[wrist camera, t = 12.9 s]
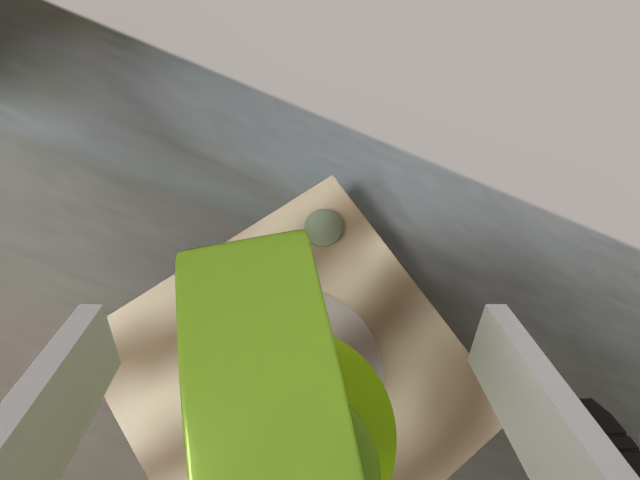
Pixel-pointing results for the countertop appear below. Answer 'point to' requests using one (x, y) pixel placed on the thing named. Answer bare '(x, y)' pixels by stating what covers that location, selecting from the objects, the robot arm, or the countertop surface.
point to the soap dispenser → (272, 370)
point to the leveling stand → (346, 324)
